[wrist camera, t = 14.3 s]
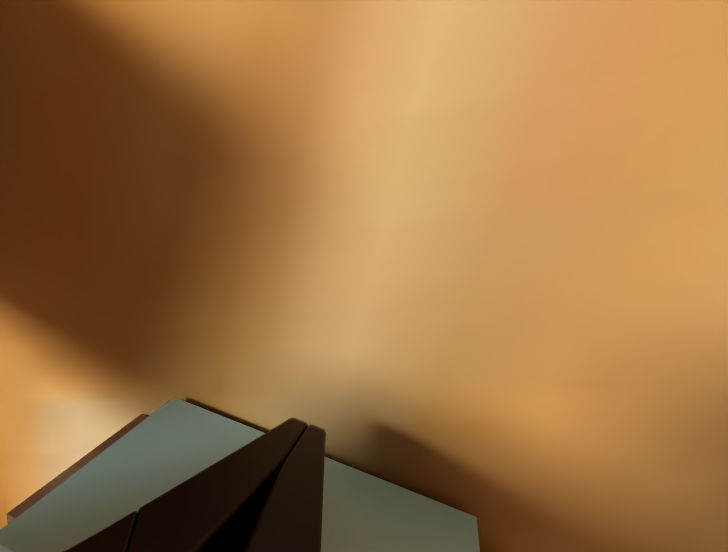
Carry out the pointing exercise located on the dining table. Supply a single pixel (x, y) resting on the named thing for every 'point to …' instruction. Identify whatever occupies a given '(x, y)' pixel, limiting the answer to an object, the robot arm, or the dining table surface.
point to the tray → (204, 448)
